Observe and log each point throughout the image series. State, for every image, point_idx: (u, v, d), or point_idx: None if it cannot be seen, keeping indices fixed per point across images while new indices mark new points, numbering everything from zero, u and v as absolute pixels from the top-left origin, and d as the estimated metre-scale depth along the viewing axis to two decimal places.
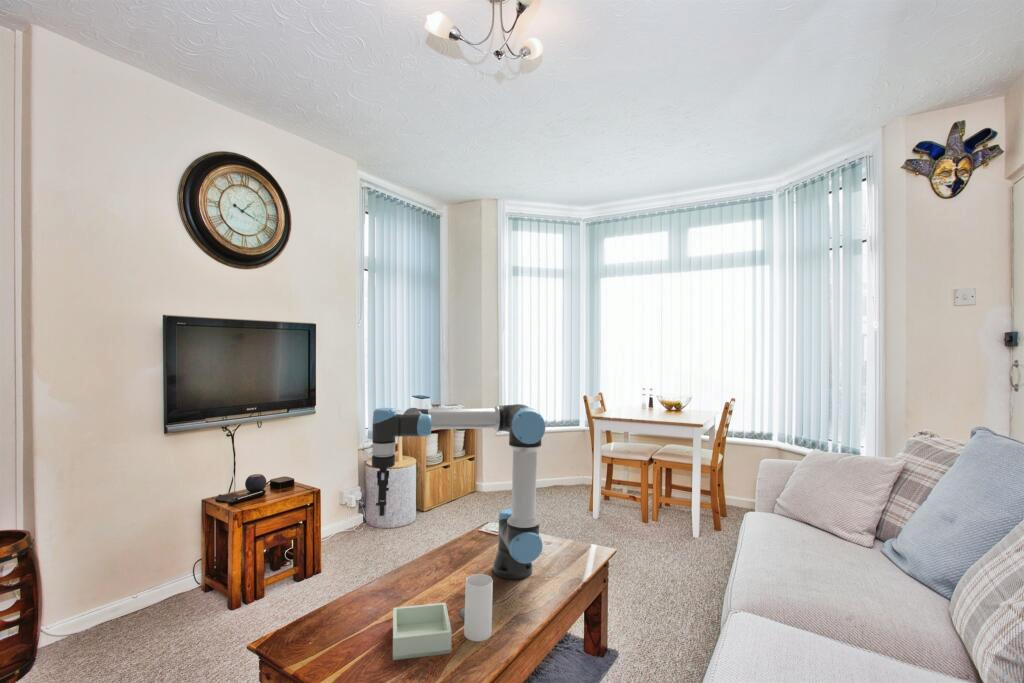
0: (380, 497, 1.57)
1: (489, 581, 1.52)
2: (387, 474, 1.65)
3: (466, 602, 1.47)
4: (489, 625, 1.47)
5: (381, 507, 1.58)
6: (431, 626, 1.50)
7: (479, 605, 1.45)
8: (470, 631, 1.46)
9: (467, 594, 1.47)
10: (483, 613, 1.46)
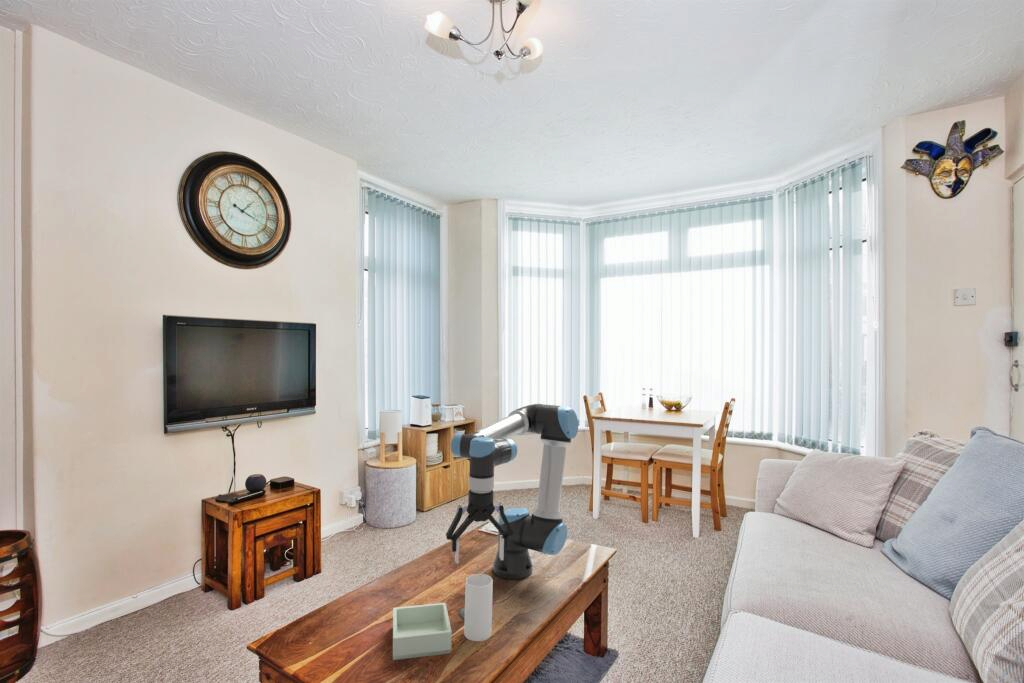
0: (449, 529, 1.48)
1: (489, 581, 1.52)
2: (474, 512, 1.48)
3: (466, 602, 1.47)
4: (489, 625, 1.47)
5: (452, 541, 1.48)
6: (431, 626, 1.50)
7: (479, 605, 1.45)
8: (470, 631, 1.46)
9: (467, 594, 1.47)
10: (483, 613, 1.46)
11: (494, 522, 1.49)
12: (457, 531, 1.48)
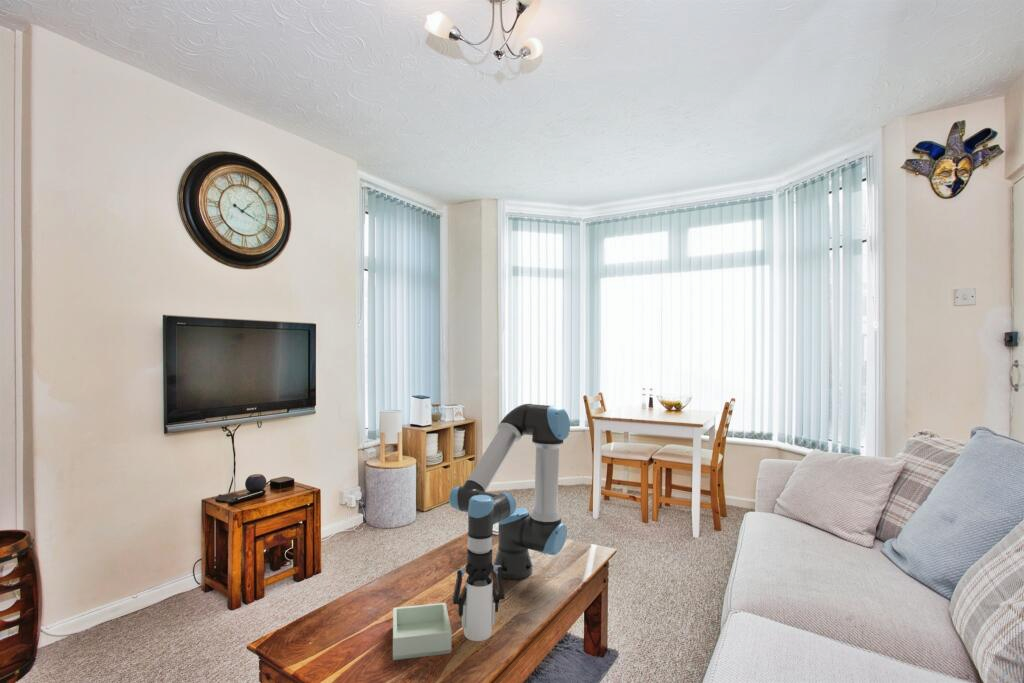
0: (454, 593, 1.48)
1: None
2: (473, 572, 1.48)
3: (466, 602, 1.47)
4: (489, 625, 1.47)
5: None
6: (431, 626, 1.50)
7: (479, 605, 1.45)
8: (470, 631, 1.46)
9: (467, 594, 1.47)
10: (483, 613, 1.46)
11: None
12: (462, 595, 1.48)
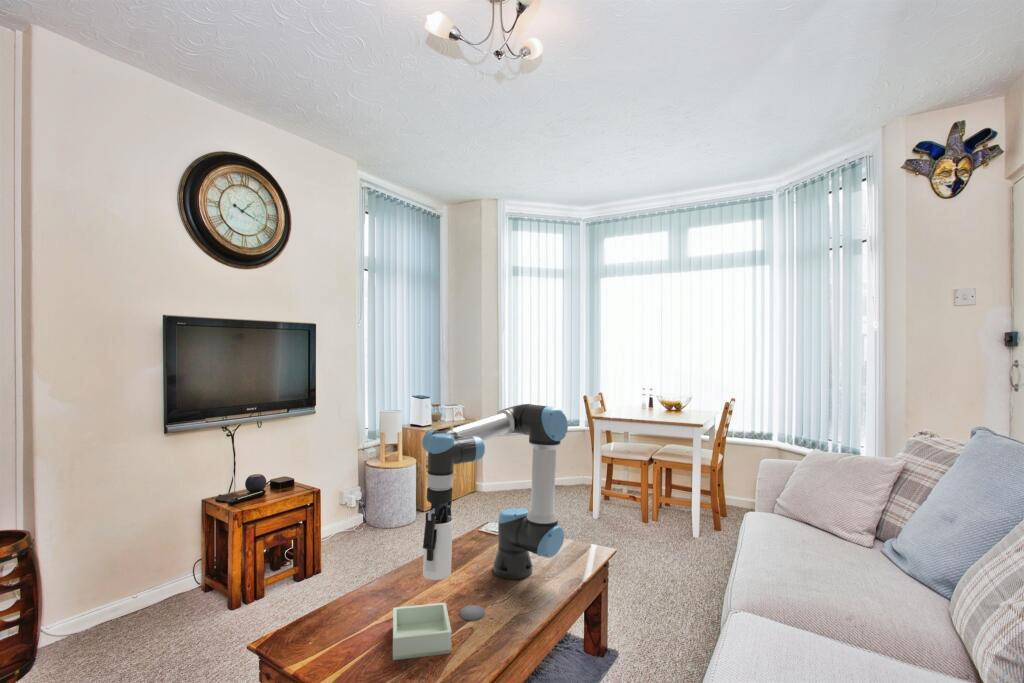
0: (425, 540, 1.39)
1: None
2: (440, 511, 1.44)
3: (436, 544, 1.42)
4: None
5: (428, 551, 1.40)
6: (431, 626, 1.50)
7: (450, 540, 1.45)
8: (442, 570, 1.43)
9: (438, 535, 1.42)
10: (451, 547, 1.46)
11: (446, 519, 1.49)
12: None
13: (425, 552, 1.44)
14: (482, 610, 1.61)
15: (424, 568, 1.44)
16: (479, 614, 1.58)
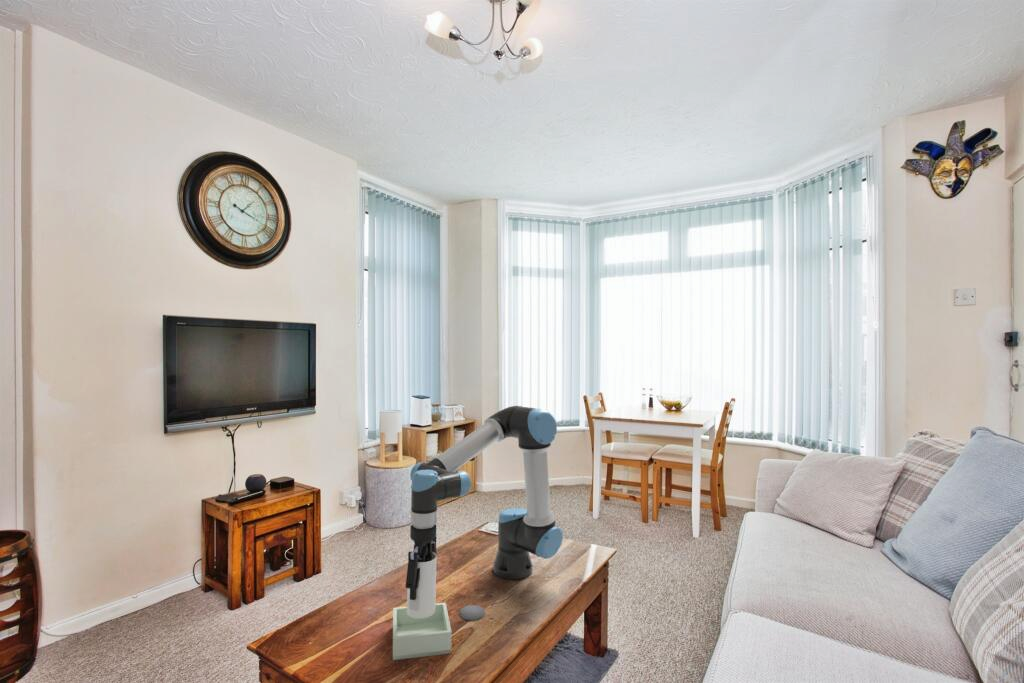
0: (408, 580, 1.38)
1: None
2: (424, 549, 1.43)
3: (419, 582, 1.41)
4: None
5: (411, 590, 1.40)
6: (431, 626, 1.50)
7: (433, 578, 1.44)
8: (425, 608, 1.42)
9: (421, 573, 1.41)
10: (435, 584, 1.45)
11: (430, 556, 1.48)
12: None
13: (408, 590, 1.43)
14: (482, 610, 1.61)
15: (408, 606, 1.43)
16: (479, 614, 1.58)
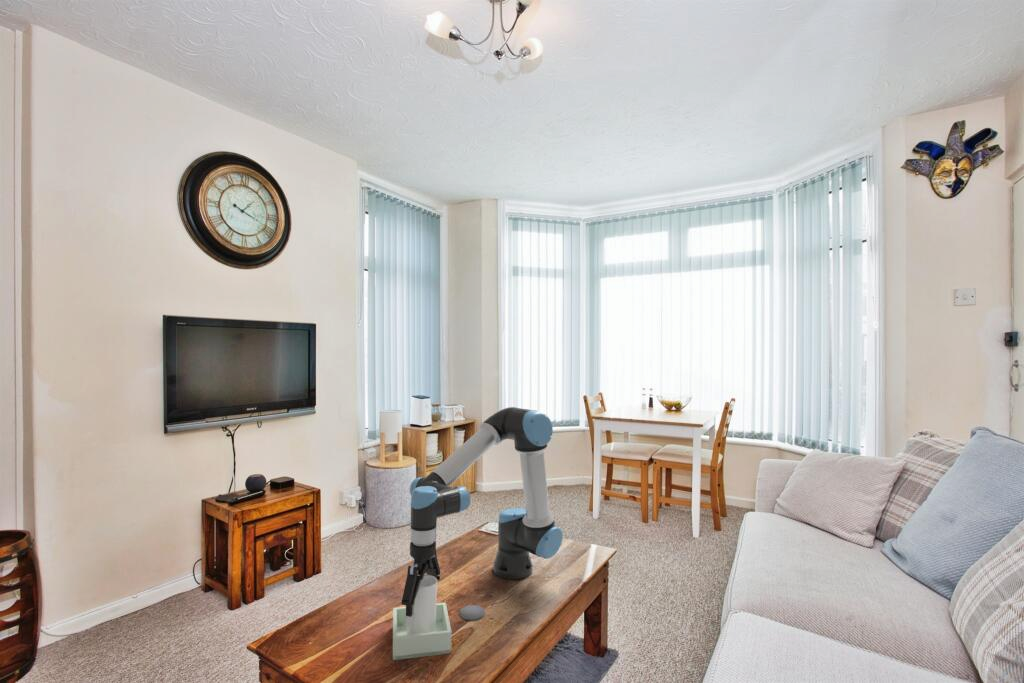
0: (405, 595, 1.37)
1: (424, 579, 1.50)
2: (424, 566, 1.43)
3: (419, 607, 1.42)
4: None
5: (407, 606, 1.38)
6: None
7: (434, 603, 1.44)
8: None
9: (421, 598, 1.42)
10: (435, 609, 1.45)
11: (432, 568, 1.49)
12: None
13: None
14: (482, 610, 1.61)
15: (408, 631, 1.43)
16: (479, 614, 1.58)
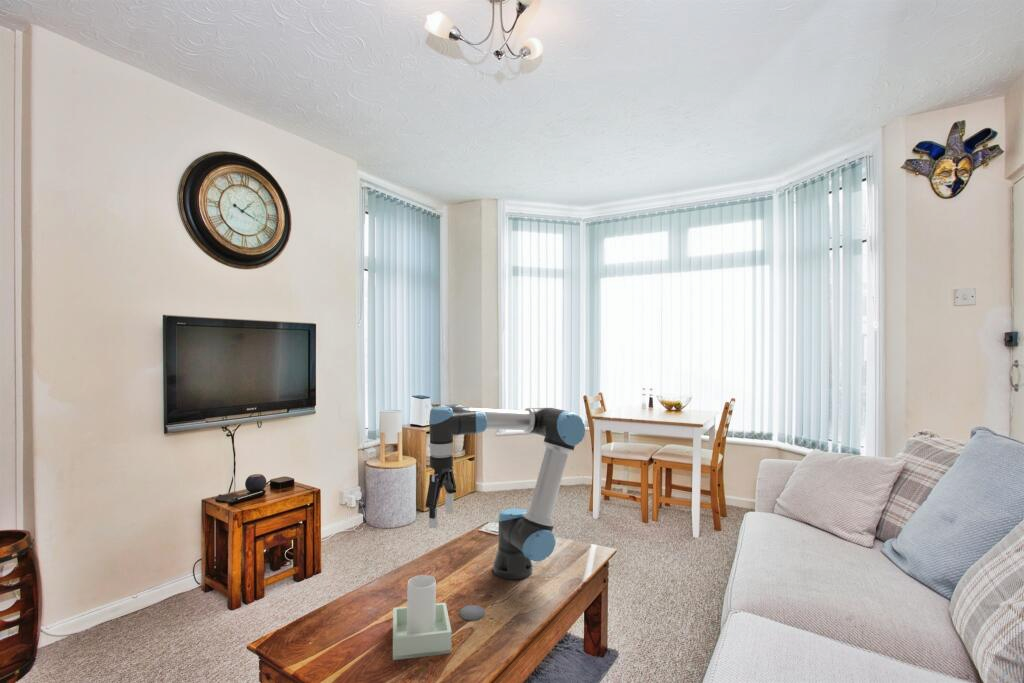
0: (428, 499, 1.53)
1: (423, 580, 1.49)
2: (443, 476, 1.59)
3: (418, 608, 1.42)
4: None
5: (430, 509, 1.54)
6: None
7: (433, 603, 1.44)
8: None
9: (420, 599, 1.42)
10: (434, 609, 1.45)
11: (449, 481, 1.65)
12: None
13: (408, 615, 1.43)
14: (482, 610, 1.61)
15: (407, 631, 1.43)
16: (479, 614, 1.58)
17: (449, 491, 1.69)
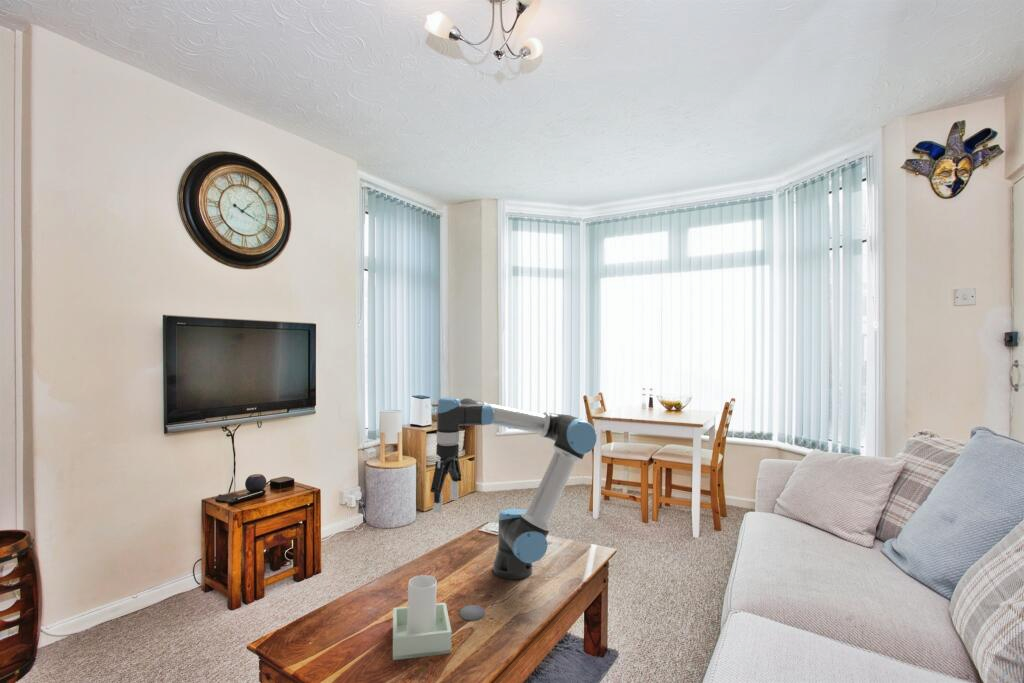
0: (433, 484, 1.60)
1: (424, 580, 1.49)
2: (448, 463, 1.67)
3: (418, 608, 1.42)
4: None
5: (435, 494, 1.61)
6: None
7: (433, 603, 1.44)
8: None
9: (420, 599, 1.42)
10: (435, 610, 1.45)
11: (455, 469, 1.73)
12: None
13: (408, 615, 1.43)
14: (482, 610, 1.61)
15: (407, 631, 1.43)
16: (479, 614, 1.58)
17: (454, 479, 1.76)
